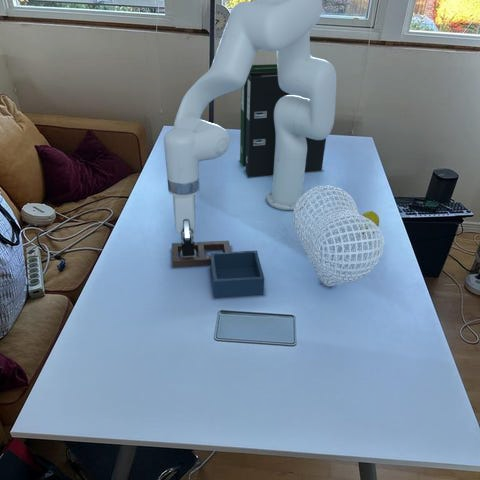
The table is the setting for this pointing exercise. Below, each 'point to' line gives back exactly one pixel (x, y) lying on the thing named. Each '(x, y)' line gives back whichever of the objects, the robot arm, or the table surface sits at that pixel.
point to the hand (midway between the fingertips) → (188, 247)
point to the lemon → (372, 217)
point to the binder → (266, 124)
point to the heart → (336, 236)
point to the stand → (201, 249)
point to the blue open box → (236, 274)
